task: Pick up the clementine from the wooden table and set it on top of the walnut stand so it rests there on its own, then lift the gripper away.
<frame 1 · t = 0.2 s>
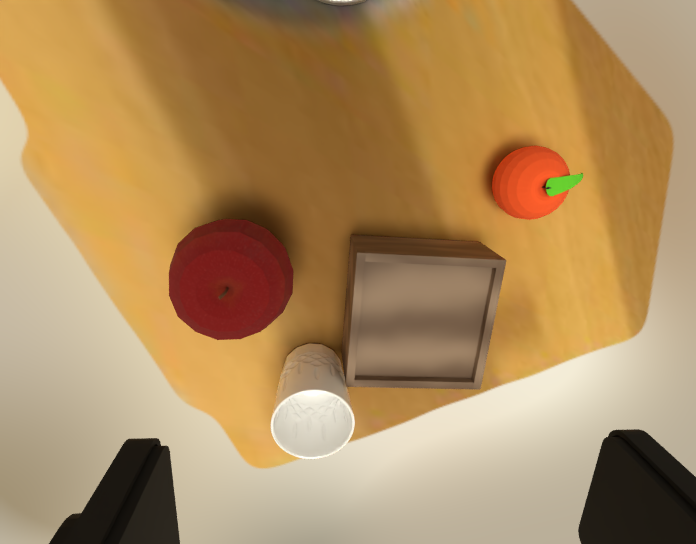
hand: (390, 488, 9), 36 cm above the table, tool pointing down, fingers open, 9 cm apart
white cup: (312, 367, 49), on the table
clementine: (517, 177, 44), on the table
walnut stand: (408, 299, 47), on the table
apple: (244, 256, 45), on the table
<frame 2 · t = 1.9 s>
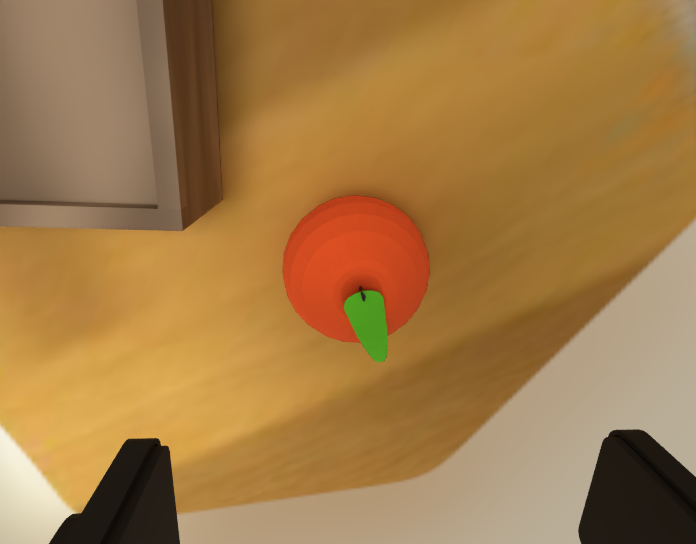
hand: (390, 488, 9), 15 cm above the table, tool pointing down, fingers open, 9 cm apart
clementine: (353, 256, 24), on the table
walnut stand: (57, 41, 19), on the table
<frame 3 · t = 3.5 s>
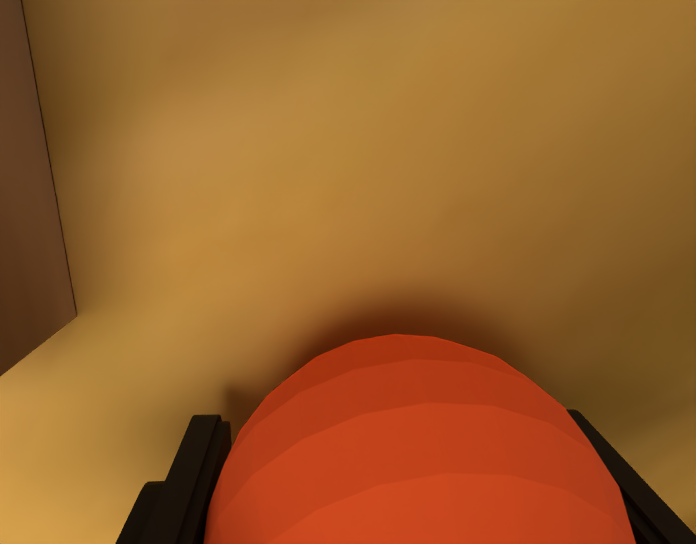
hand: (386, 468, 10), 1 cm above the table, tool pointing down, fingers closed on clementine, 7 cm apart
clementine: (384, 420, 11), on the table, touching gripper
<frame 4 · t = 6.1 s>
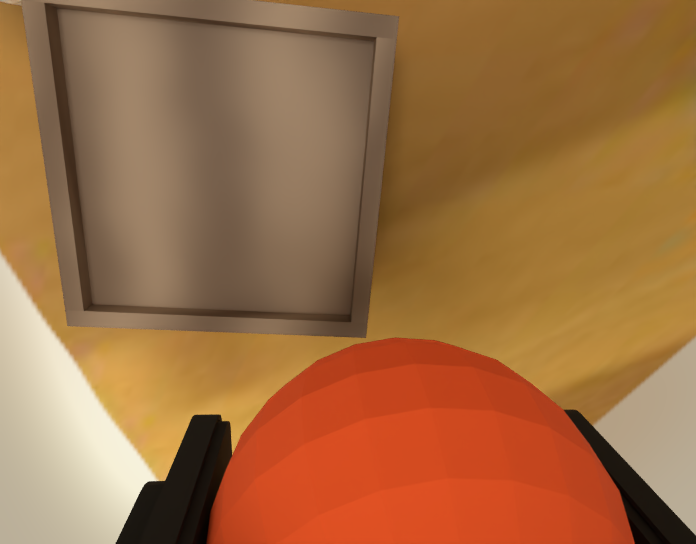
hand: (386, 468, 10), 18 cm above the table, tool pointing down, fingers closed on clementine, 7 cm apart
clementine: (385, 423, 11), point 16 cm above the table, touching gripper
walnut stand: (244, 170, 25), on the table
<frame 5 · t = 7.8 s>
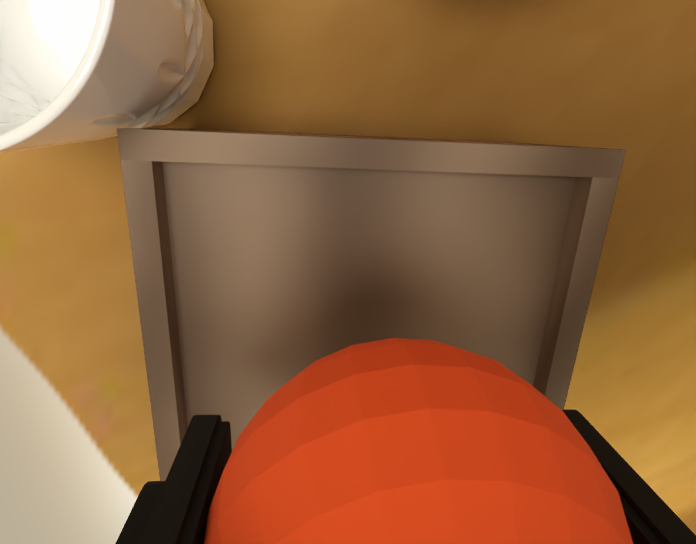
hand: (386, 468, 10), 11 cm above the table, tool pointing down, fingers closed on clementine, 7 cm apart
white cup: (128, 38, 16), on the table
clementine: (384, 423, 11), point 10 cm above the table, touching gripper
walnut stand: (352, 290, 20), on the table
when the fingers open (9 cm above the table, at t = 8.8 s): clementine drops 1 cm, resting on walnut stand.
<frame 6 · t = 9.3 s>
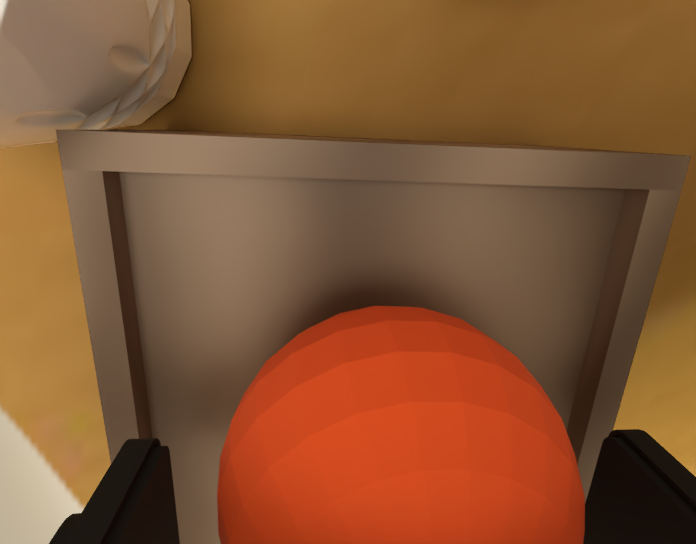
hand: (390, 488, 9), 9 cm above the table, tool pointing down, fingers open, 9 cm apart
white cup: (91, 24, 14), on the table
clementine: (373, 389, 12), point 6 cm above the table, touching walnut stand
walnut stand: (352, 311, 18), on the table
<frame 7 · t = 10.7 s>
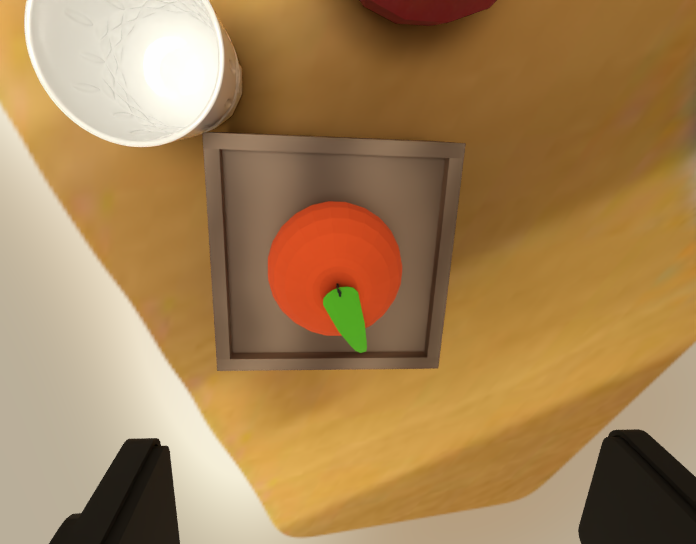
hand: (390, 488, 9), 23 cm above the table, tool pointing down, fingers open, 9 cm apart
white cup: (190, 77, 27), on the table
clementine: (334, 257, 26), point 6 cm above the table, touching walnut stand
walnut stand: (328, 236, 31), on the table
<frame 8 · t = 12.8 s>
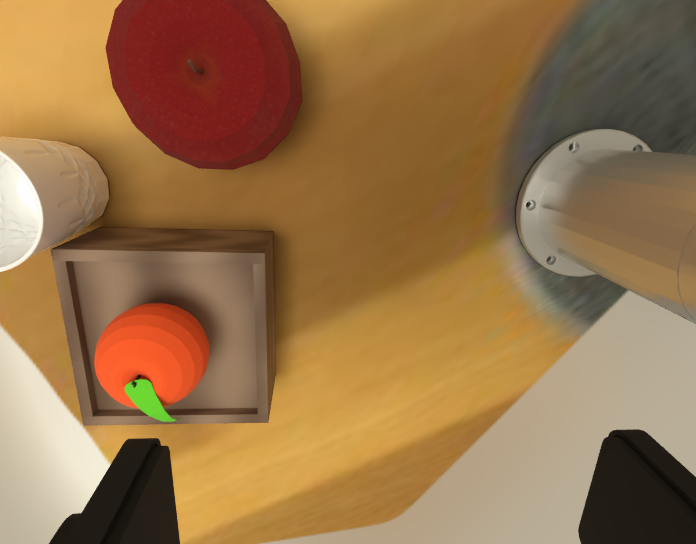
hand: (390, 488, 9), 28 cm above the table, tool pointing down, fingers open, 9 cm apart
white cup: (66, 185, 34), on the table
clementine: (175, 336, 32), point 6 cm above the table, touching walnut stand
walnut stand: (194, 307, 37), on the table
apple: (231, 88, 32), on the table
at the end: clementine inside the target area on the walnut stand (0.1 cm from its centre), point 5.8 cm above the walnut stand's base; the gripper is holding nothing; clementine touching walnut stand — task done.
